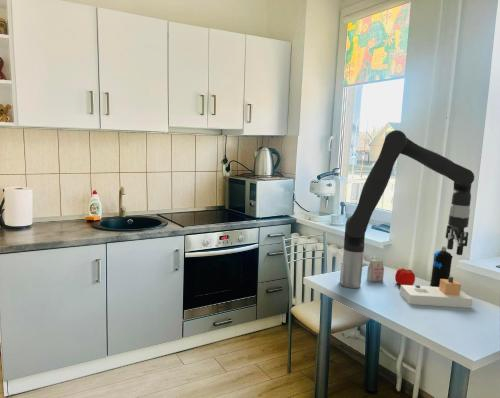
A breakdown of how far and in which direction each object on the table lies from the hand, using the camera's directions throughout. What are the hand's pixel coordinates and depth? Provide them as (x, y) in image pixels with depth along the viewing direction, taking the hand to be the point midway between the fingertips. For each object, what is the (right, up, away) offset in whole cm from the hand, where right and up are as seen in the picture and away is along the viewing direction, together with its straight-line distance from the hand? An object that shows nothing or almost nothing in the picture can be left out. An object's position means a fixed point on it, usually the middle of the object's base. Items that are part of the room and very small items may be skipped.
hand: (454, 252), depth 169 cm
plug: (-1, -20, +3) cm, 20 cm away
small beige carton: (-26, -18, +26) cm, 41 cm away
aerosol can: (+4, -20, +21) cm, 29 cm away
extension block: (-7, -22, +4) cm, 23 cm away
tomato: (-13, -19, +22) cm, 32 cm away
